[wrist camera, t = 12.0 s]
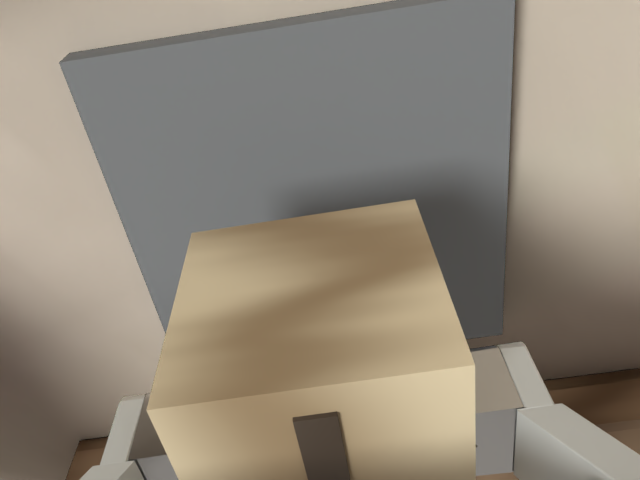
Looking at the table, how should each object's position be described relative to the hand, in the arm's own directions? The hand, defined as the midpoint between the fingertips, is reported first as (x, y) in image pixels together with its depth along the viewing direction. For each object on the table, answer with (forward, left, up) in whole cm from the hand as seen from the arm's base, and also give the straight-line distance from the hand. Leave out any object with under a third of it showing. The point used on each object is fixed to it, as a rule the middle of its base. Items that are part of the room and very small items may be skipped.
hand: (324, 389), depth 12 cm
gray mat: (0, 0, -7) cm, 7 cm away
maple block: (0, 0, -3) cm, 3 cm away
